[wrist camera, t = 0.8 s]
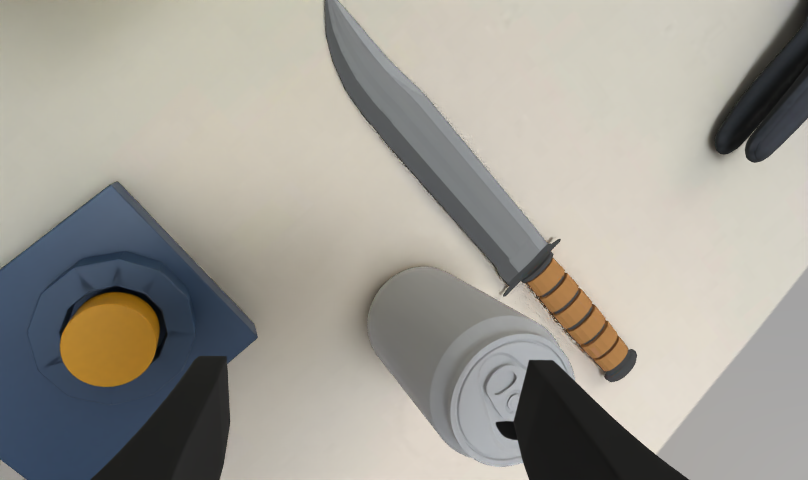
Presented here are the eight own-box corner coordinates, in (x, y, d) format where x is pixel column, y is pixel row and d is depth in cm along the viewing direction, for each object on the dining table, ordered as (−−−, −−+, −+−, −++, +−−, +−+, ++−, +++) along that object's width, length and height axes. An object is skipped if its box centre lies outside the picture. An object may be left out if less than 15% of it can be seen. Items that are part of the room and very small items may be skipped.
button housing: (71, 481, 30) (51, 530, 26) (-99, 347, 26) (-149, 382, 23) (255, 324, 31) (261, 349, 28) (117, 180, 28) (103, 187, 24)
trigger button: (113, 384, 26) (106, 404, 24) (50, 329, 25) (38, 345, 23) (177, 331, 27) (175, 346, 25) (119, 274, 26) (111, 286, 24)
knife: (271, 36, 29) (344, -32, 29) (270, 39, 30) (340, -26, 30) (603, 404, 38) (655, 351, 39) (592, 396, 40) (642, 344, 40)
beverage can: (400, 388, 35) (492, 508, 24) (341, 306, 33) (412, 395, 22) (483, 324, 36) (608, 409, 25) (431, 241, 34) (542, 293, 23)
